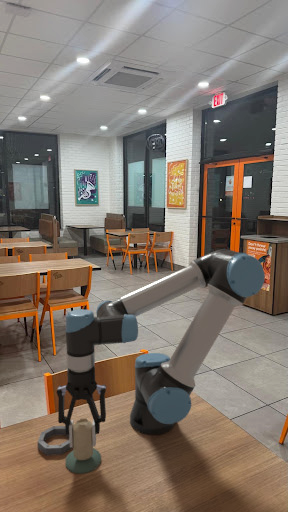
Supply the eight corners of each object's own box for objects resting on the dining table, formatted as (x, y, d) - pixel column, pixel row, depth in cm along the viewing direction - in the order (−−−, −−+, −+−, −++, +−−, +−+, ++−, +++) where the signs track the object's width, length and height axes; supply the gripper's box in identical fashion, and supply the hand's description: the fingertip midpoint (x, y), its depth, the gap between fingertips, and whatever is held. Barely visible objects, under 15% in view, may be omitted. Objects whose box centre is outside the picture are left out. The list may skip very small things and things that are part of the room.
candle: (89, 461, 98) (88, 428, 97) (70, 459, 99) (69, 426, 98) (95, 448, 104) (95, 416, 102) (78, 446, 105) (77, 414, 103)
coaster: (102, 448, 107) (102, 446, 107) (99, 473, 97) (99, 471, 97) (68, 449, 107) (68, 447, 107) (62, 474, 97) (62, 472, 97)
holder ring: (77, 431, 115) (76, 425, 115) (71, 454, 104) (71, 447, 104) (43, 432, 114) (43, 426, 114) (35, 455, 104) (34, 448, 104)
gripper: (115, 359, 102) (116, 434, 105) (49, 361, 101) (52, 436, 104) (114, 371, 95) (115, 451, 98) (43, 373, 94) (47, 453, 97)
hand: (83, 443), depth 101 cm, fingers open, 6 cm apart
